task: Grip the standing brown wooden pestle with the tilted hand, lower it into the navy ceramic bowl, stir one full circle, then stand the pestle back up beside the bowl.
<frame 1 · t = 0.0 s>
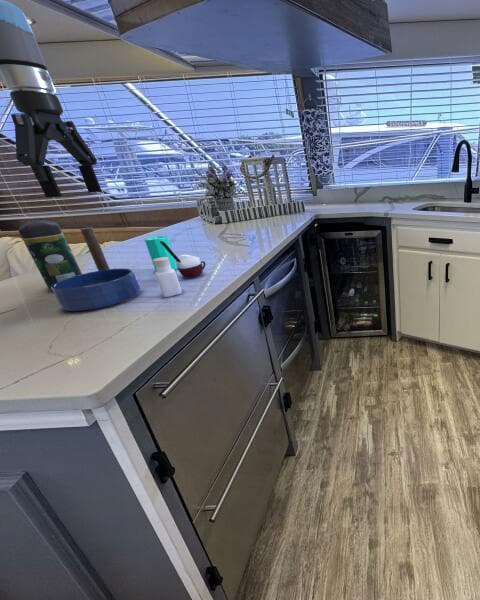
hand: (76, 194, 79), 25 cm above the worktop, tool pointing down, fingers open, 13 cm apart
salt shaker: (172, 294, 83), on the worktop
bowl: (104, 300, 81), on the worktop
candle: (167, 270, 104), on the worktop
cocoa: (191, 277, 96), on the worktop
coffee jar: (68, 286, 93), on the worktop
brown wooden pestle: (110, 286, 91), on the worktop
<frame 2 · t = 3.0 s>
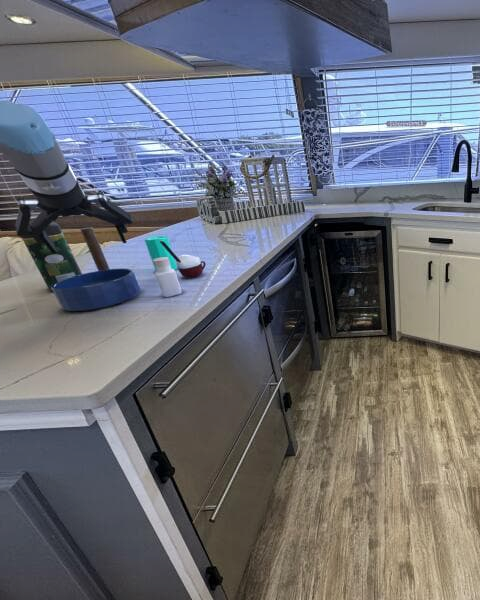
hand: (90, 243, 82), 13 cm above the worktop, tool tilted 45°, fingers open, 13 cm apart
nothing on the worktop moved.
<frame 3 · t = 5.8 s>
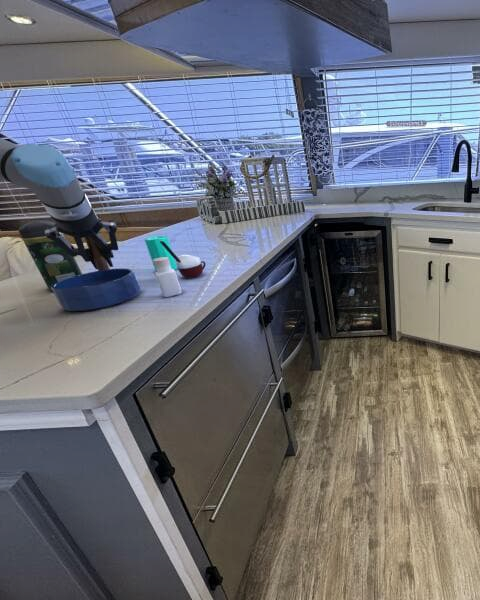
hand: (103, 264, 92), 6 cm above the worktop, tool tilted 45°, fingers closed on brown wooden pestle, 2 cm apart
brown wooden pestle: (110, 286, 91), on the worktop, touching gripper
everything else where it was.
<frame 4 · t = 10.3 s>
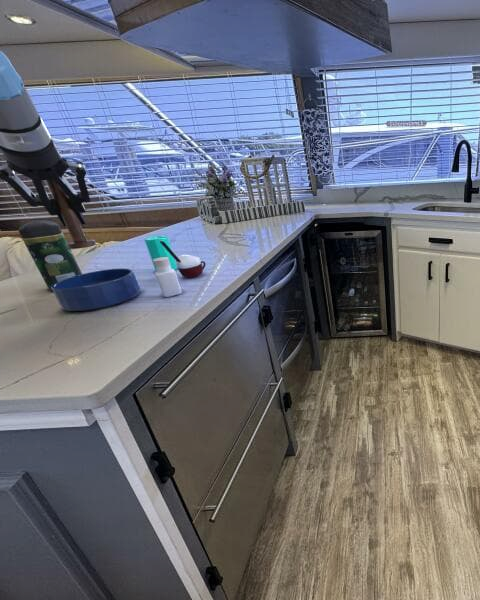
hand: (73, 220, 78), 19 cm above the worktop, tool tilted 45°, fingers closed on brown wooden pestle, 2 cm apart
brown wooden pestle: (82, 246, 77), point 14 cm above the worktop, touching gripper
everything else where it was.
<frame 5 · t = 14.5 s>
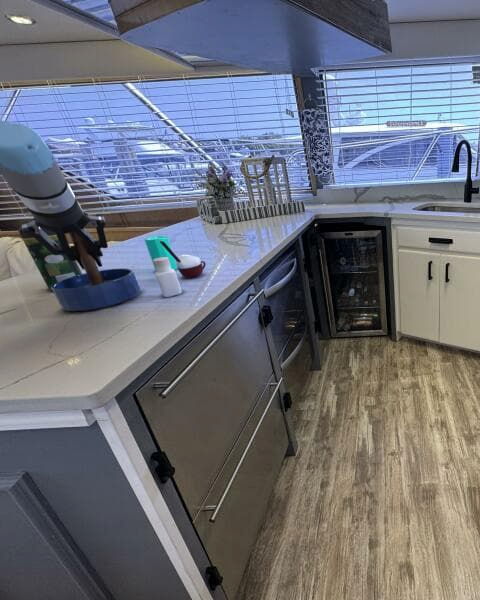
hand: (91, 263, 82), 8 cm above the worktop, tool tilted 45°, fingers closed on brown wooden pestle, 2 cm apart
brown wooden pestle: (99, 288, 82), point 3 cm above the worktop, touching gripper
everything else where it was.
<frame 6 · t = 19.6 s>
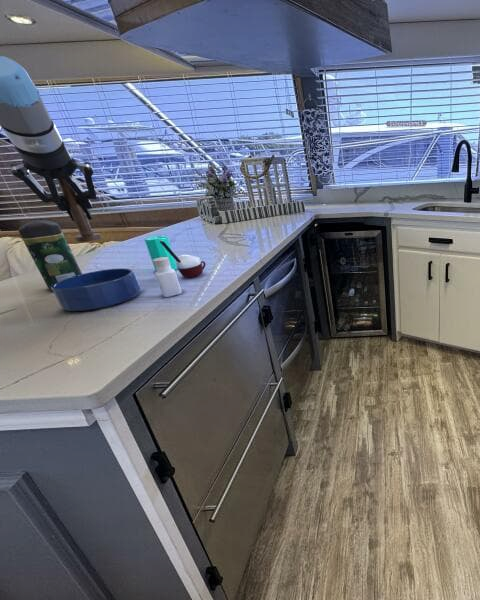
hand: (81, 216, 85), 19 cm above the worktop, tool tilted 45°, fingers closed on brown wooden pestle, 2 cm apart
brown wooden pestle: (89, 239, 84), point 14 cm above the worktop, touching gripper
everything else where it was.
when the fingers open (6 cm above the worktop, at t = 23.5 s): brown wooden pestle stays where it is, on the worktop.
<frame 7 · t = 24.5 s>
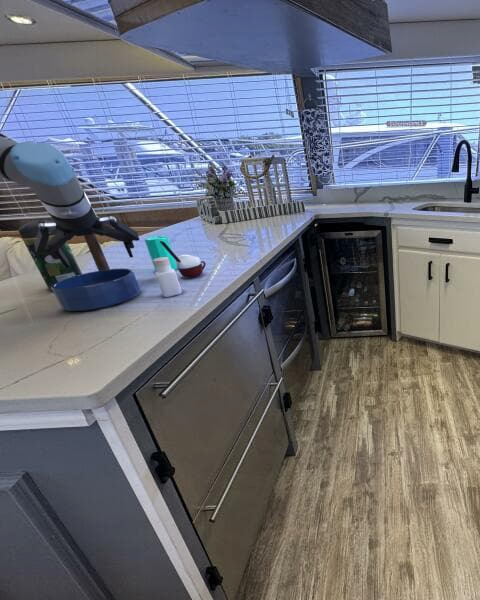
hand: (100, 258, 90), 8 cm above the worktop, tool tilted 45°, fingers open, 13 cm apart
brown wooden pestle: (111, 286, 91), on the worktop
everything else where it was.
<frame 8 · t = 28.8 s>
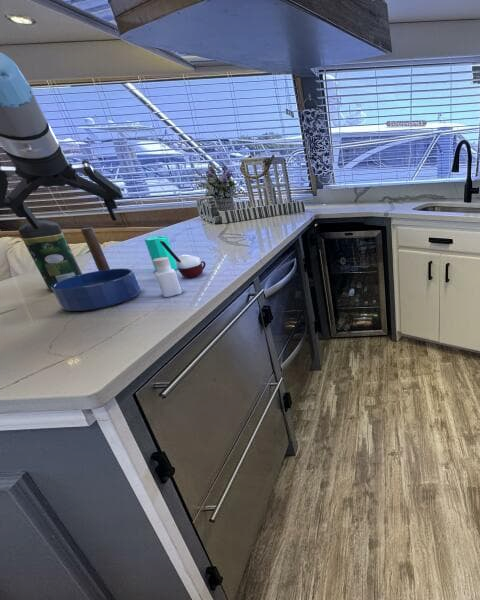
hand: (76, 220, 76), 20 cm above the worktop, tool tilted 45°, fingers open, 13 cm apart
nothing on the worktop moved.
at the end: brown wooden pestle inside the target area (0.6 cm from its centre), on the worktop; brown wooden pestle tilted 0°; the gripper is holding nothing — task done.
